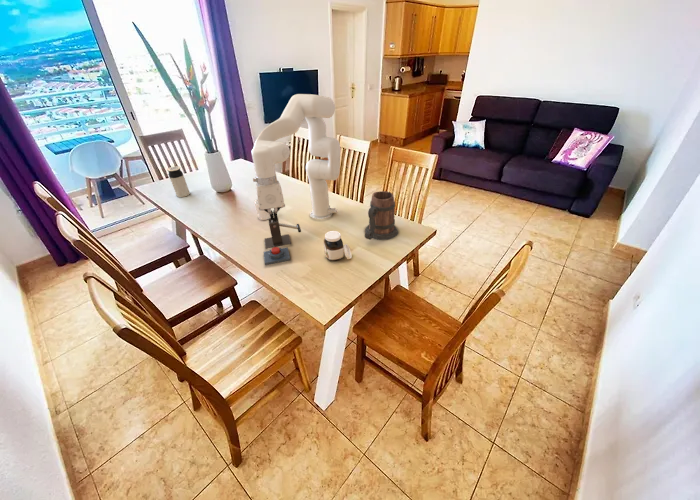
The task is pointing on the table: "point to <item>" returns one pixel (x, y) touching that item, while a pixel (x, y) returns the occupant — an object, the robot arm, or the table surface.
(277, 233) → the bracket
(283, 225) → the tap lever
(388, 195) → the tankard
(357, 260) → the table surface
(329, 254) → the spread jar
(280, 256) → the button box
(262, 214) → the white cup
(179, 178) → the travel mug
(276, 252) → the red push button
